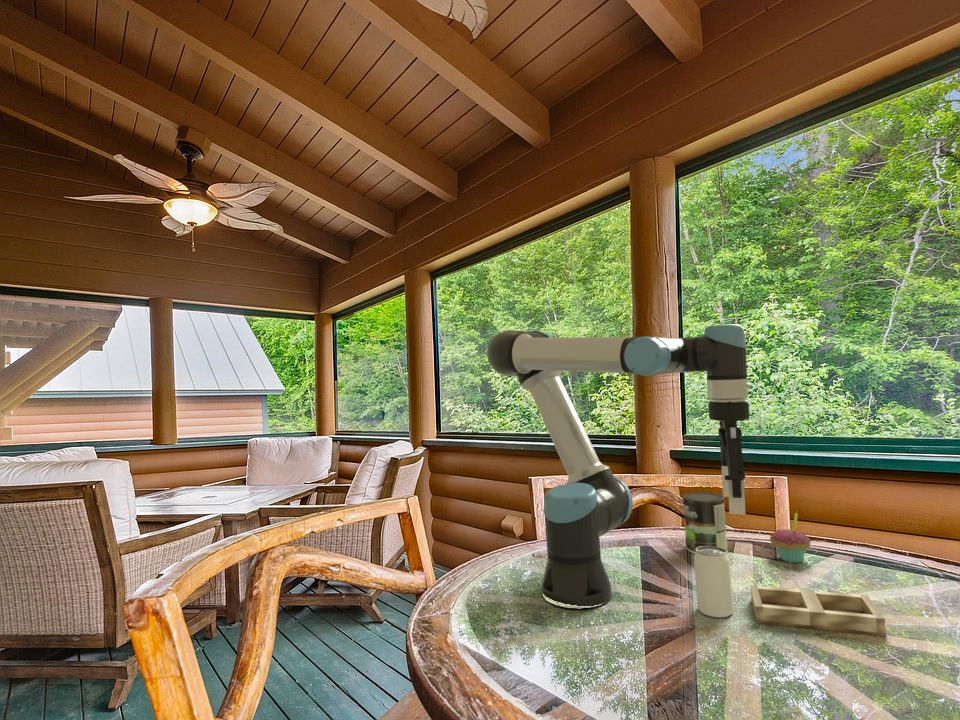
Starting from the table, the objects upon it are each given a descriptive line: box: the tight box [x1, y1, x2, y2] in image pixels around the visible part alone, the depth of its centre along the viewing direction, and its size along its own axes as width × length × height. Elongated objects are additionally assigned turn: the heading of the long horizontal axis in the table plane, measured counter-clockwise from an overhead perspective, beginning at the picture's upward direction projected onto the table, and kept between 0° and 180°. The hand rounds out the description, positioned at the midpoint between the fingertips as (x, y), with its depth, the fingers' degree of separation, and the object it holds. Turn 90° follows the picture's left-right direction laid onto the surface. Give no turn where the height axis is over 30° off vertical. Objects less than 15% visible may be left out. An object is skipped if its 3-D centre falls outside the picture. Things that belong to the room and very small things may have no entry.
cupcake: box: [769, 510, 811, 563], centre depth 128 cm, size 9×8×12 cm
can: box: [693, 546, 734, 619], centre depth 104 cm, size 6×6×12 cm
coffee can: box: [681, 491, 729, 555], centre depth 139 cm, size 10×10×14 cm
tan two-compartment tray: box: [749, 585, 887, 637], centre depth 99 cm, size 20×10×3 cm, turn 67°
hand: (733, 504), depth 106 cm, fingers open, 13 cm apart
